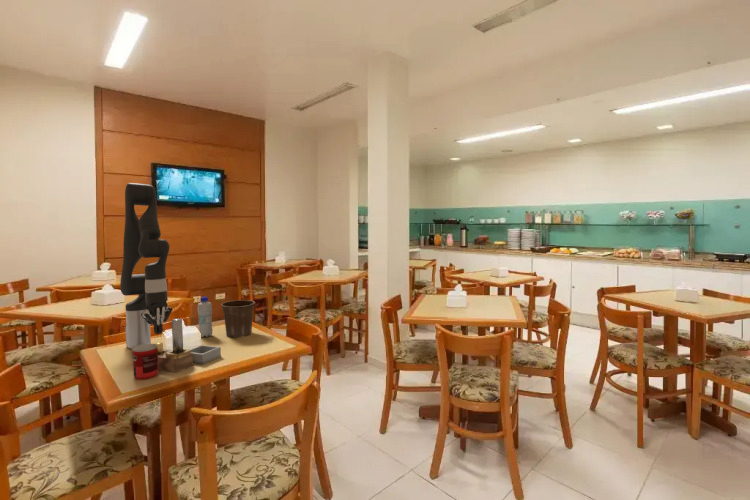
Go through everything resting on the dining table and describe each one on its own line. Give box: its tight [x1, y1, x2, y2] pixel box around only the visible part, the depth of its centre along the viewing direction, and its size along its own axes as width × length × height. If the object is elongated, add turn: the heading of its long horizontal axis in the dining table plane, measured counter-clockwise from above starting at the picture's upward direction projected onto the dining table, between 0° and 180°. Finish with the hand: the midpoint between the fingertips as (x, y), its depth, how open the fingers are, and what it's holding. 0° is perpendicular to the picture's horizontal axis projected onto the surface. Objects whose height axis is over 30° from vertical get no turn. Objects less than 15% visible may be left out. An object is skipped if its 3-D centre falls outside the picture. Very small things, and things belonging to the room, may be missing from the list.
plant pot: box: [220, 299, 256, 338], centre depth 195 cm, size 16×16×16 cm
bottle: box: [197, 296, 213, 338], centre depth 192 cm, size 7×7×20 cm
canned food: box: [132, 343, 159, 381], centre depth 142 cm, size 8×8×11 cm
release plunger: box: [154, 341, 164, 355], centre depth 153 cm, size 3×3×6 cm
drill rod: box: [171, 318, 184, 354], centre depth 149 cm, size 4×4×14 cm
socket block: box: [158, 348, 194, 374], centre depth 151 cm, size 16×8×6 cm, turn 70°
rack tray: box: [190, 344, 222, 365], centre depth 159 cm, size 10×10×4 cm
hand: (158, 333), depth 152 cm, fingers closed
